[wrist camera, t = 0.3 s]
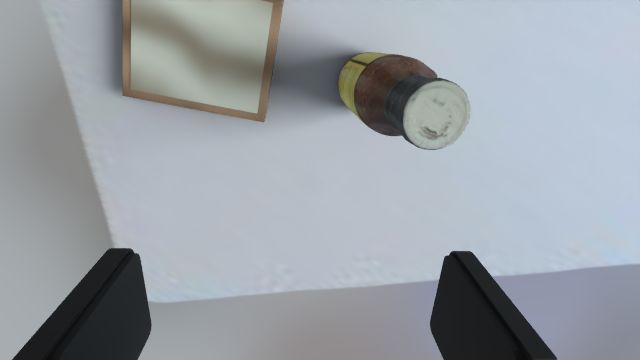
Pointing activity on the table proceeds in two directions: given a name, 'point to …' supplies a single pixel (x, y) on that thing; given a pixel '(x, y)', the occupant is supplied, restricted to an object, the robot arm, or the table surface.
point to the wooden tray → (202, 53)
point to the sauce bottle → (404, 99)
